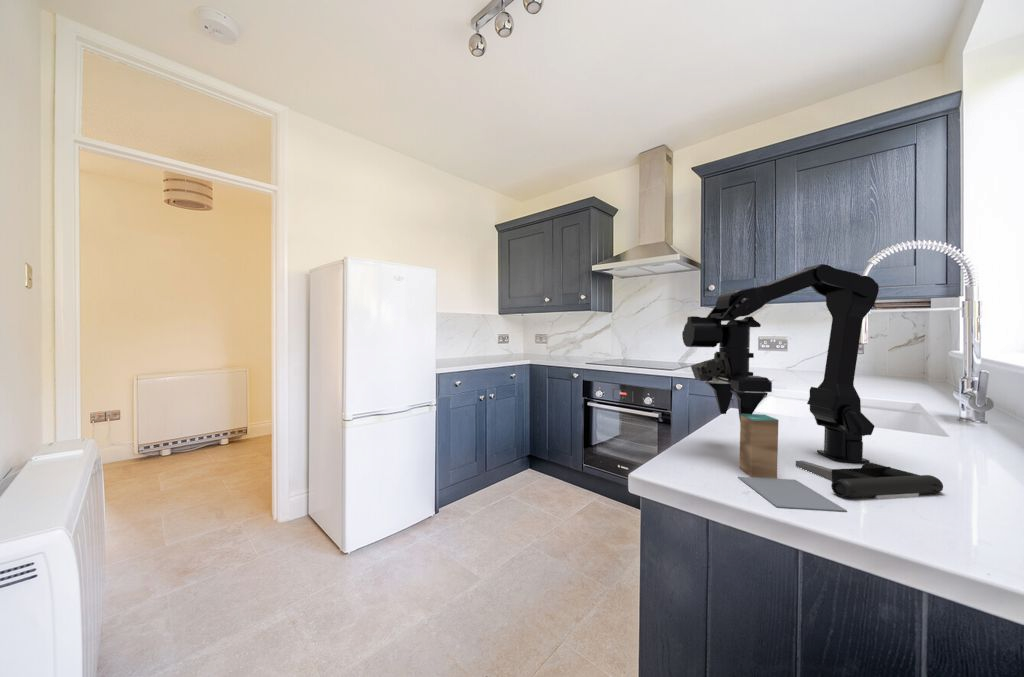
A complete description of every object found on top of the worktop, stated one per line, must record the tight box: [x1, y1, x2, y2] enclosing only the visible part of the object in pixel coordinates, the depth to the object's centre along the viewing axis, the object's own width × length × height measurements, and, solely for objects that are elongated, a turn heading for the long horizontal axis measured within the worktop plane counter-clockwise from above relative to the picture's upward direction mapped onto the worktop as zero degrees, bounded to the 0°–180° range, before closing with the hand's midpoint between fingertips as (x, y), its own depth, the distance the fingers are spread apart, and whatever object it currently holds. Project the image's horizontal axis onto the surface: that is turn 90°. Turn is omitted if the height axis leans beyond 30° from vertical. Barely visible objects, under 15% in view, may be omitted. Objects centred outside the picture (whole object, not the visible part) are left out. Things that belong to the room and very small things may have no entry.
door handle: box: [795, 460, 944, 500], centre depth 68 cm, size 3×20×16 cm
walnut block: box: [738, 413, 779, 479], centre depth 72 cm, size 4×4×11 cm
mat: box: [737, 476, 848, 513], centre depth 63 cm, size 12×10×1 cm
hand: (732, 418), depth 82 cm, fingers open, 9 cm apart
